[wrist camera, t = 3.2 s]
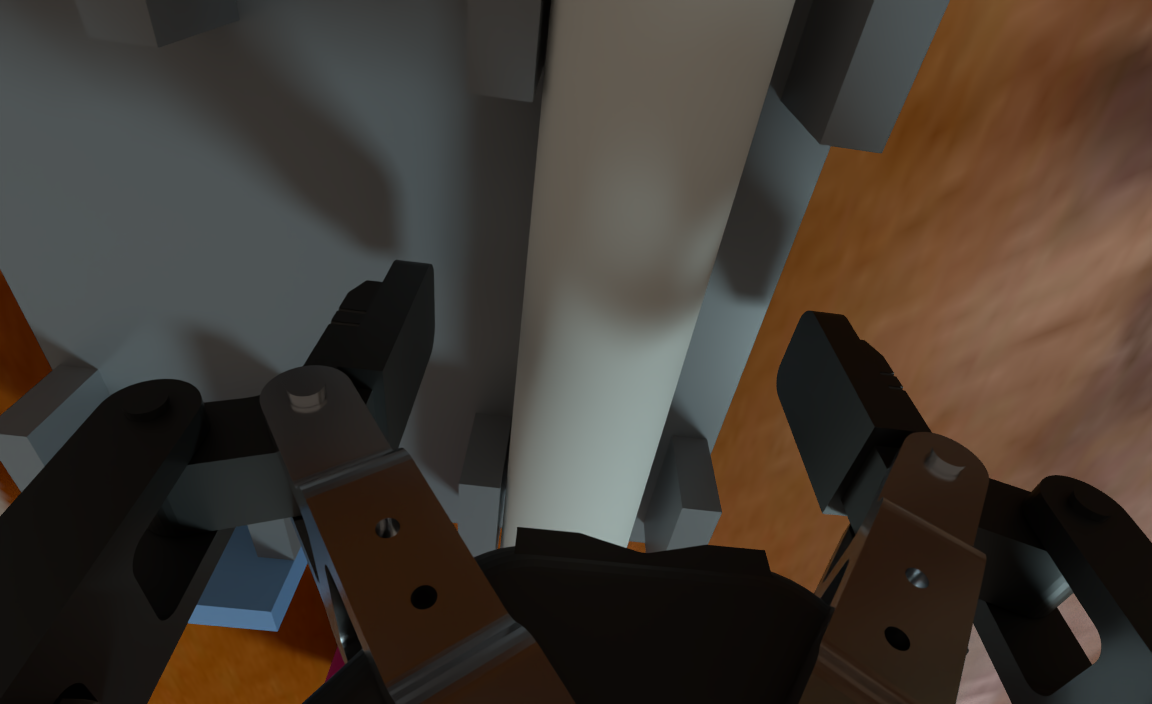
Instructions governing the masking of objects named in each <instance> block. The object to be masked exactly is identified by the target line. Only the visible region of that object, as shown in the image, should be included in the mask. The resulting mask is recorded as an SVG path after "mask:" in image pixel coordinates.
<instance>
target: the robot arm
mask: <svg viewBox="0 0 1152 704" xmlns="http://www.w3.org/2000/svg"><path fill="white" fill-rule="evenodd" d="M434 335H435V296H434V269H433V265H432V264H429V263H421V262H412V261H404V260H395V261H394V262H393V264H392V265H391V267H390V269H389V271H388V273H387V275H386V276H385V278H384V280H383V282H379V281H370V280H366V281H365V282H363V283H362V284H360V285H359V286H357V287H356V288H354V289H353V290H351V291H349V292H348V293H347V295H346V297H345V298H344V300H343V302H342V303H341V305H340V307H339V311H336V313H335V315H334V316H333V318H332V320H331V324H328V326H327V328H326V329H325V331H324V333H323V334H322V336H321V337H320V339H319V341H318V342H317V344H316V346H315V347H314V349H313V350H312V352H311V354H310V355H309V357H308V359H307V360H306V362H305V364H304V365H303V366H302V367H297V368H293V369H290V370H287V371H285V372H283V373H280V374H279V375H277V376H275V377H274V378H273V379H271V380H270V381H269V382H268V383H267V384H266V385H265V386H264V388H263V389H262V391H261V394H260V395H258V396H254V397H248V398H240V399H231V400H222V401H213V402H203V399H202V396H201V394H200V391H199V390H198V389H197V388H196V387H195V386H193V385H192V384H190V383H188V382H185V381H182V380H176V379H154V380H148V381H144V382H140V383H136V384H133V385H130V386H128V387H125V388H123V389H121V390H119V391H117V392H115V393H114V394H112V395H110V396H109V397H108V398H106V399H105V400H104V401H103V402H102V403H101V404H100V405H99V406H98V407H97V408H96V409H95V410H94V411H93V412H92V414H91V415H90V416H89V417H88V418H87V419H86V420H85V421H84V423H83V424H82V425H81V426H80V427H79V428H78V429H77V430H76V432H75V433H74V434H73V435H72V436H71V437H70V438H69V439H68V441H67V442H66V443H65V444H64V445H63V446H62V447H61V449H60V450H59V451H58V452H57V453H56V454H55V455H54V456H53V458H52V459H51V460H50V461H49V462H48V463H47V464H46V465H45V467H44V468H43V469H42V470H41V471H40V472H39V473H38V474H37V476H36V477H35V478H34V479H33V480H32V481H31V482H30V483H29V485H28V486H27V487H26V488H25V489H24V490H23V491H22V492H21V494H20V495H19V496H18V497H17V498H16V499H15V500H14V501H13V503H12V504H11V505H10V506H9V507H8V508H7V509H6V511H5V512H4V513H3V514H2V515H1V516H0V704H147V703H148V701H149V699H150V697H151V695H152V693H153V691H154V689H155V687H156V685H157V683H158V681H159V679H160V677H161V675H162V673H163V671H164V669H165V667H166V665H167V663H168V661H169V659H170V657H171V655H172V653H173V651H174V649H175V647H176V645H177V643H178V641H179V639H180V637H181V635H182V633H183V631H184V629H185V627H186V625H187V623H188V621H189V619H190V617H191V615H192V613H193V611H194V609H195V607H196V605H197V603H198V601H199V599H200V597H201V595H202V593H203V591H204V589H205V587H206V585H207V583H208V581H209V579H210V577H211V575H212V573H213V571H214V569H215V567H216V565H217V563H218V561H219V559H220V557H221V555H222V553H223V551H224V549H225V547H226V545H227V544H228V542H229V540H230V538H231V536H232V534H233V532H234V530H235V528H236V527H238V526H244V525H250V524H255V523H261V522H267V521H273V520H278V519H284V518H290V519H291V522H292V524H293V527H294V529H295V532H296V534H297V537H298V539H299V542H300V544H301V547H302V549H303V552H304V555H305V557H306V560H307V562H308V565H309V567H310V570H311V572H312V575H313V577H314V580H315V582H316V585H317V587H318V590H319V592H320V595H321V598H322V600H323V603H324V606H325V609H326V612H327V616H328V619H329V622H330V625H331V628H332V631H333V634H334V637H335V640H336V642H337V645H338V648H339V650H340V653H341V656H342V658H343V661H344V663H345V665H344V666H343V667H342V668H341V669H339V670H338V671H337V672H336V673H335V674H334V675H333V676H332V677H331V678H330V679H328V680H327V681H326V682H325V683H324V684H323V685H322V686H321V687H320V688H319V689H317V690H316V691H315V692H314V693H313V694H312V695H311V696H310V697H309V698H308V699H306V700H305V701H304V702H303V703H302V704H956V699H957V695H958V690H959V686H960V681H961V676H962V672H963V667H964V662H965V658H966V653H967V648H968V644H969V639H970V635H971V630H972V625H973V624H974V626H975V628H976V630H977V632H978V634H979V636H980V638H981V640H982V642H983V644H984V646H985V648H986V651H987V653H988V655H989V657H990V659H991V661H992V663H993V665H994V667H995V669H996V671H997V673H998V675H999V678H1000V680H1001V682H1002V684H1003V686H1004V688H1005V690H1006V692H1007V694H1008V696H1009V698H1010V700H1011V702H1012V704H1152V543H1151V541H1150V540H1149V539H1148V538H1147V536H1146V535H1145V534H1144V533H1143V532H1142V530H1141V529H1140V528H1139V527H1138V525H1137V524H1136V523H1135V522H1134V521H1133V519H1132V518H1131V517H1130V516H1129V515H1128V513H1127V512H1126V511H1125V510H1124V509H1123V508H1122V507H1121V506H1120V505H1119V504H1118V503H1117V502H1116V501H1114V500H1113V499H1112V498H1110V497H1109V496H1108V495H1106V494H1105V493H1103V492H1102V491H1100V490H1098V489H1097V488H1095V487H1093V486H1091V485H1089V484H1087V483H1085V482H1082V481H1080V480H1077V479H1074V478H1071V477H1066V476H1060V475H1053V476H1048V477H1046V478H1044V479H1043V480H1042V481H1041V482H1040V483H1039V484H1038V485H1037V486H1036V487H1035V488H1034V490H1033V491H1032V492H1029V491H1026V490H1023V489H1020V488H1017V487H1014V486H1011V485H1008V484H1005V483H1002V482H999V481H996V480H993V479H990V478H989V475H988V472H987V470H986V468H985V466H984V465H983V463H982V462H981V461H980V460H979V459H978V457H976V456H975V455H974V454H973V453H972V452H971V451H970V450H968V449H967V448H966V447H964V446H963V445H961V444H959V443H958V442H956V441H954V440H952V439H950V438H947V437H945V436H942V435H939V434H935V433H932V432H931V430H930V429H929V427H928V426H927V424H926V423H925V421H924V419H923V418H922V416H921V415H920V413H919V412H918V410H917V408H916V407H915V405H914V404H913V402H912V401H911V399H910V397H909V396H908V394H907V393H906V391H904V390H902V388H903V386H902V385H901V383H900V382H899V380H898V379H897V377H895V376H894V372H893V371H892V369H891V368H890V366H889V364H888V363H887V361H886V360H885V358H884V357H883V356H882V355H881V354H880V353H879V352H878V351H877V350H875V349H874V348H873V347H872V346H871V345H869V344H868V343H867V342H866V341H865V340H860V339H859V337H858V336H857V334H856V332H855V331H854V329H853V327H852V326H851V324H850V323H849V321H848V319H847V318H846V317H845V316H844V315H841V314H833V313H825V312H816V311H806V312H805V313H804V314H803V315H802V316H801V318H800V320H799V322H798V325H797V327H796V329H795V332H794V334H793V336H792V339H791V341H790V343H789V345H788V348H787V350H786V352H785V355H784V357H783V359H782V362H781V364H780V367H779V370H778V374H777V393H778V396H779V399H780V402H781V404H782V407H783V410H784V412H785V415H786V418H787V420H788V423H789V426H790V428H791V431H792V434H793V436H794V439H795V442H796V444H797V447H798V449H799V452H800V455H801V457H802V460H803V463H804V465H805V468H806V471H807V473H808V476H809V479H810V481H811V484H812V487H813V489H814V492H815V495H816V497H817V500H818V503H819V505H820V508H821V511H822V513H823V514H833V515H843V516H848V519H849V521H850V524H849V525H848V527H847V528H846V530H845V532H844V533H843V535H842V537H841V539H840V541H839V543H838V545H837V547H836V549H835V551H834V553H833V555H832V557H831V559H830V561H829V563H828V565H827V568H826V570H825V572H824V574H823V576H822V578H821V580H820V582H819V584H818V586H817V588H816V590H815V592H814V594H813V593H812V592H810V591H809V590H807V589H806V588H804V587H803V586H801V585H799V584H797V583H795V582H794V581H792V580H790V579H788V578H785V577H783V576H781V575H779V574H776V573H774V572H771V571H770V568H769V564H768V560H767V556H766V553H765V550H755V549H745V548H734V547H724V546H713V545H700V546H693V547H686V548H680V549H673V550H666V551H659V552H652V553H641V552H637V551H634V550H631V549H628V548H625V547H622V546H619V545H616V544H612V543H609V542H606V541H603V540H600V539H597V538H594V537H591V536H588V535H585V534H582V533H577V532H567V531H556V530H546V529H535V528H525V527H517V534H516V542H515V546H511V547H505V548H500V549H496V550H492V551H489V552H486V553H483V554H481V555H478V556H476V557H473V556H472V554H471V552H470V551H469V549H468V547H467V546H466V544H465V543H464V541H463V539H462V538H461V536H460V535H459V533H458V531H457V530H456V528H455V526H454V525H453V523H452V522H451V520H450V518H449V517H448V515H447V514H446V512H445V510H444V509H443V507H442V505H441V504H440V502H439V501H438V499H437V497H436V496H435V494H434V492H433V491H432V489H431V488H430V486H429V484H428V483H427V481H426V480H425V478H424V476H423V475H422V473H421V471H420V470H419V468H418V467H417V465H416V463H415V462H414V460H413V459H412V457H411V456H410V454H409V453H408V452H407V451H406V450H405V449H404V448H399V445H400V442H401V439H402V436H403V433H404V431H405V428H406V425H407V422H408V419H409V416H410V413H411V411H412V408H413V405H414V402H415V399H416V396H417V393H418V390H419V388H420V385H421V382H422V379H423V376H424V373H425V370H426V368H427V365H428V362H429V359H430V356H431V353H432V349H433V343H434ZM1073 593H1074V594H1075V596H1076V597H1077V599H1078V600H1079V602H1080V603H1081V605H1082V606H1083V608H1084V609H1085V611H1086V613H1087V614H1088V616H1089V617H1090V619H1091V620H1092V622H1093V623H1094V625H1095V627H1096V628H1097V630H1098V632H1099V635H1100V639H1101V654H1100V657H1099V659H1098V660H1097V662H1095V663H1094V664H1093V665H1092V664H1091V662H1090V661H1089V659H1088V657H1087V656H1086V654H1085V652H1084V651H1083V649H1082V648H1081V646H1080V644H1079V643H1078V641H1077V639H1076V638H1075V636H1074V634H1073V633H1072V631H1071V629H1070V628H1069V626H1068V625H1067V623H1066V621H1065V620H1064V618H1063V616H1062V615H1061V613H1060V611H1059V610H1058V608H1057V607H1058V606H1059V605H1060V604H1061V603H1062V602H1063V601H1065V600H1066V599H1067V598H1068V597H1069V596H1070V595H1071V594H1073Z"/></svg>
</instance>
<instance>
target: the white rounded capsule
mask: <svg viewBox="0 0 1152 704" xmlns="http://www.w3.org/2000/svg"><path fill="white" fill-rule="evenodd" d="M794 3H795V0H551V5H550V16H549V27H548V38H547V49H546V60H545V70H544V81H543V92H542V103H541V114H540V125H539V135H538V146H537V157H536V168H535V179H534V189H533V200H532V211H531V222H530V233H529V244H528V254H527V265H526V276H525V287H524V298H523V309H522V319H521V330H520V341H519V352H518V363H517V374H516V384H515V395H514V406H513V417H512V428H511V439H510V449H509V460H508V471H507V482H506V493H505V503H504V514H503V525H502V536H501V547H500V548H505V547H511V546H515V542H516V534H517V527H525V528H535V529H546V530H556V531H567V532H577V533H582V534H585V535H588V536H591V537H594V538H597V539H600V540H603V541H606V542H609V543H612V544H616V545H619V546H622V547H625V548H627V545H628V542H629V538H630V535H631V532H632V529H633V525H634V522H635V519H636V516H637V512H638V509H639V506H640V503H641V499H642V496H643V493H644V490H645V486H646V483H647V480H648V477H649V474H650V470H651V467H652V464H653V461H654V457H655V454H656V451H657V448H658V444H659V441H660V438H661V435H662V431H663V428H664V425H665V422H666V418H667V415H668V412H669V409H670V405H671V402H672V399H673V396H674V392H675V389H676V386H677V383H678V379H679V376H680V373H681V370H682V366H683V363H684V360H685V357H686V353H687V350H688V347H689V344H690V341H691V337H692V334H693V331H694V328H695V324H696V321H697V318H698V315H699V311H700V308H701V305H702V302H703V298H704V295H705V292H706V289H707V285H708V282H709V279H710V276H711V272H712V269H713V266H714V263H715V259H716V256H717V253H718V250H719V246H720V243H721V240H722V237H723V233H724V230H725V227H726V224H727V220H728V217H729V214H730V211H731V208H732V204H733V201H734V198H735V195H736V191H737V188H738V185H739V182H740V178H741V175H742V172H743V169H744V165H745V162H746V159H747V156H748V152H749V149H750V146H751V143H752V139H753V136H754V133H755V130H756V126H757V123H758V120H759V117H760V113H761V110H762V107H763V104H764V100H765V97H766V94H767V91H768V87H769V84H770V81H771V78H772V74H773V71H774V68H775V65H776V62H777V58H778V55H779V52H780V49H781V45H782V42H783V39H784V36H785V32H786V29H787V26H788V23H789V19H790V16H791V13H792V10H793V6H794Z"/></svg>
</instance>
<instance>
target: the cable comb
mask: <svg viewBox="0 0 1152 704" xmlns="http://www.w3.org/2000/svg"><path fill="white" fill-rule="evenodd" d="M949 1H950V0H795V3H794V6H793V10H792V13H791V16H790V19H789V23H788V26H787V29H786V32H785V36H784V39H783V42H782V45H781V49H780V52H779V55H778V58H777V62H776V65H775V68H774V71H773V74H772V78H771V81H770V84H769V87H768V91H767V94H766V97H765V100H764V104H763V107H762V110H761V113H760V117H759V120H758V123H757V126H756V130H755V133H754V136H753V139H752V143H751V146H750V149H749V152H748V156H747V159H746V162H745V165H744V169H743V172H742V175H741V178H740V182H739V185H738V188H737V191H736V195H735V198H734V201H733V204H732V208H731V211H730V214H729V217H728V220H727V224H726V227H725V230H724V233H723V237H722V240H721V243H720V246H719V250H718V253H717V256H716V259H715V263H714V266H713V269H712V272H711V276H710V279H709V282H708V285H707V289H706V292H705V295H704V298H703V302H702V305H701V308H700V311H699V315H698V318H697V321H696V324H695V328H694V331H693V334H692V337H691V341H690V344H689V347H688V350H687V353H686V357H685V360H684V363H683V366H682V370H681V373H680V376H679V379H678V383H677V386H676V389H675V392H674V396H673V399H672V402H671V405H670V409H669V412H668V415H667V418H666V422H665V425H664V428H663V431H662V435H661V438H660V441H659V444H658V448H657V451H656V454H655V457H654V461H653V464H652V467H651V470H650V474H649V477H648V480H647V483H646V486H645V490H644V493H643V496H642V499H641V503H640V506H639V509H638V512H637V516H636V519H635V522H634V525H633V529H632V532H631V535H630V538H629V541H634V542H644V543H645V547H646V553H652V552H659V551H666V550H673V549H680V548H686V547H693V546H700V545H708V543H709V540H710V538H711V536H712V534H713V531H714V529H715V527H716V525H717V522H718V520H719V518H720V516H721V513H722V510H721V505H720V500H719V495H718V490H717V485H716V481H715V476H714V471H713V466H712V461H711V456H710V454H711V452H712V449H713V447H714V444H715V442H716V439H717V436H718V434H719V431H720V429H721V426H722V424H723V421H724V418H725V416H726V413H727V411H728V408H729V406H730V403H731V401H732V398H733V395H734V393H735V390H736V388H737V385H738V383H739V380H740V377H741V375H742V372H743V370H744V367H745V365H746V362H747V359H748V357H749V354H750V352H751V349H752V347H753V344H754V342H755V339H756V336H757V334H758V331H759V329H760V326H761V324H762V321H763V318H764V316H765V313H766V311H767V308H768V306H769V303H770V300H771V298H772V295H773V293H774V290H775V288H776V285H777V282H778V280H779V277H780V275H781V272H782V270H783V267H784V265H785V262H786V259H787V257H788V254H789V252H790V249H791V247H792V244H793V241H794V239H795V236H796V234H797V231H798V229H799V226H800V223H801V221H802V218H803V216H804V213H805V211H806V208H807V206H808V203H809V200H810V198H811V195H812V193H813V190H814V188H815V185H816V182H817V180H818V177H819V175H820V172H821V170H822V167H823V164H824V162H825V159H826V157H827V154H828V152H829V149H830V146H835V147H841V148H848V149H855V150H862V151H869V152H876V153H882V151H883V149H884V147H885V145H886V142H887V140H888V138H889V136H890V133H891V131H892V129H893V127H894V124H895V122H896V120H897V118H898V115H899V113H900V111H901V109H902V106H903V104H904V102H905V100H906V98H907V95H908V93H909V91H910V89H911V86H912V84H913V82H914V80H915V77H916V75H917V73H918V71H919V68H920V66H921V64H922V62H923V59H924V57H925V55H926V53H927V50H928V48H929V46H930V44H931V41H932V39H933V37H934V35H935V32H936V30H937V28H938V26H939V23H940V21H941V19H942V17H943V14H944V12H945V10H946V8H947V5H948V3H949ZM550 5H551V0H0V269H1V271H2V273H3V275H4V277H5V279H6V281H7V283H8V285H9V287H10V289H11V291H12V292H13V294H14V296H15V298H16V300H17V302H18V304H19V306H20V308H21V310H22V312H23V314H24V316H25V318H26V320H27V321H28V323H29V325H30V327H31V329H32V331H33V333H34V335H35V337H36V339H37V341H38V343H39V345H40V347H41V349H42V350H43V352H44V354H45V356H46V358H47V360H48V362H49V364H50V366H51V368H52V370H53V371H51V372H50V373H49V374H48V375H47V376H46V377H44V378H43V379H42V380H41V381H40V382H39V383H38V384H36V385H35V386H34V387H33V388H32V389H31V390H29V391H28V392H27V393H26V394H25V395H24V396H23V397H21V398H20V399H19V400H18V401H17V402H16V403H14V404H13V405H12V406H11V407H10V408H9V409H8V410H6V411H5V412H4V413H3V414H2V415H1V416H0V461H1V462H2V464H3V465H4V467H5V468H6V470H7V471H8V473H9V474H10V476H11V477H12V479H13V480H14V482H15V483H16V485H17V486H18V488H19V489H20V491H21V492H22V491H23V490H24V489H25V488H26V487H27V486H28V485H29V483H30V482H31V481H32V480H33V479H34V478H35V477H36V476H37V474H38V473H39V472H40V471H41V470H42V469H43V468H44V467H45V465H46V464H47V463H48V462H49V461H50V460H51V459H52V458H53V456H54V455H55V454H56V453H57V452H58V451H59V450H60V449H61V447H62V446H63V445H64V444H65V443H66V442H67V441H68V439H69V438H70V437H71V436H72V435H73V434H74V433H75V432H76V430H77V429H78V428H79V427H80V426H81V425H82V424H83V423H84V421H85V420H86V419H87V418H88V417H89V416H90V415H91V414H92V412H93V411H94V410H95V409H96V408H97V407H98V406H99V405H100V404H101V403H102V402H103V401H104V400H105V399H106V398H108V397H109V396H110V395H112V394H114V393H115V392H117V391H119V390H121V389H123V388H125V387H128V386H130V385H133V384H136V383H140V382H144V381H148V380H154V379H176V380H182V381H185V382H188V383H190V384H192V385H193V386H195V387H196V388H197V389H198V390H199V391H200V394H201V396H202V399H203V402H213V401H222V400H231V399H240V398H248V397H254V396H258V395H260V394H261V391H262V389H263V388H264V386H265V385H266V384H267V383H268V382H269V381H270V380H271V379H273V378H274V377H275V376H277V375H279V374H280V373H283V372H285V371H287V370H290V369H293V368H297V367H302V366H303V365H304V364H305V362H306V360H307V359H308V357H309V355H310V354H311V352H312V350H313V349H314V347H315V346H316V344H317V342H318V341H319V339H320V337H321V336H322V334H323V333H324V331H325V329H326V328H327V326H328V324H331V320H332V318H333V316H334V315H335V313H336V311H339V307H340V305H341V303H342V302H343V300H344V298H345V297H346V295H347V293H348V292H349V291H351V290H353V289H354V288H356V287H357V286H359V285H360V284H362V283H363V282H365V281H366V280H370V281H379V282H383V280H384V278H385V276H386V275H387V273H388V271H389V269H390V267H391V265H392V264H393V262H394V261H395V260H404V261H412V262H421V263H429V264H432V265H433V269H434V296H435V335H434V343H433V349H432V353H431V356H430V359H429V362H428V365H427V368H426V370H425V373H424V376H423V379H422V382H421V385H420V388H419V390H418V393H417V396H416V399H415V402H414V405H413V408H412V411H411V413H410V416H409V419H408V422H407V425H406V428H405V431H404V433H403V436H402V439H401V442H400V445H399V448H404V449H405V450H406V451H407V452H408V453H409V454H410V456H411V457H412V459H413V460H414V462H415V463H416V465H417V467H418V468H419V470H420V471H421V473H422V475H423V476H424V478H425V480H426V481H427V483H428V484H429V486H430V488H431V489H432V491H433V492H434V494H435V496H436V497H437V499H438V501H439V502H440V504H441V505H442V507H443V509H444V510H445V512H446V514H447V515H448V517H449V518H450V520H451V522H453V523H458V533H459V535H460V536H461V538H462V539H463V541H464V543H465V544H466V546H467V547H468V549H469V551H470V552H471V554H472V556H473V557H476V556H478V555H481V554H483V553H486V552H489V551H492V550H496V549H497V548H498V541H499V535H500V528H502V525H503V514H504V503H505V493H506V482H507V471H508V460H509V449H510V439H511V428H512V417H513V406H514V395H515V384H516V374H517V363H518V352H519V341H520V330H521V319H522V309H523V298H524V287H525V276H526V265H527V254H528V244H529V233H530V222H531V211H532V200H533V189H534V179H535V168H536V157H537V146H538V135H539V125H540V114H541V103H542V92H543V81H544V70H545V60H546V49H547V38H548V27H549V16H550ZM307 563H308V562H307V560H306V557H305V555H304V552H303V549H302V547H301V544H300V542H299V539H298V537H297V534H296V532H295V529H294V527H293V524H292V522H291V519H290V518H284V519H278V520H273V521H267V522H261V523H255V524H250V525H244V526H238V527H236V528H235V530H234V532H233V534H232V536H231V538H230V540H229V542H228V544H227V545H226V547H225V549H224V551H223V553H222V555H221V557H220V559H219V561H218V563H217V565H216V567H215V569H214V571H213V573H212V575H211V577H210V579H209V581H208V583H207V585H206V587H205V589H204V591H203V593H202V595H201V597H200V599H199V601H198V603H197V605H196V607H195V609H194V611H193V613H192V615H191V617H190V619H189V621H188V623H191V624H202V625H213V626H223V627H234V628H245V629H256V630H266V631H277V632H278V630H279V627H280V625H281V623H282V620H283V618H284V616H285V613H286V611H287V609H288V607H289V604H290V602H291V600H292V597H293V595H294V593H295V591H296V588H297V586H298V584H299V581H300V579H301V577H302V574H303V572H304V570H305V568H306V565H307Z"/></svg>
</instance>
